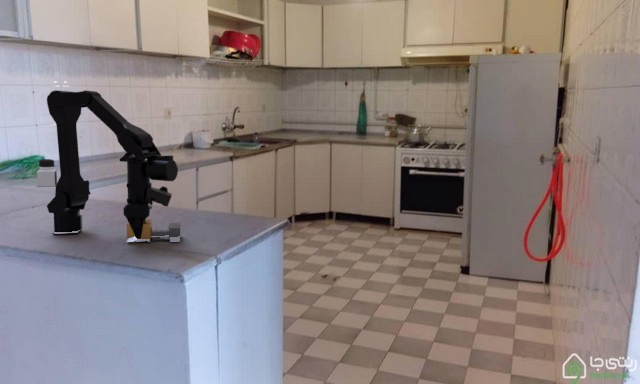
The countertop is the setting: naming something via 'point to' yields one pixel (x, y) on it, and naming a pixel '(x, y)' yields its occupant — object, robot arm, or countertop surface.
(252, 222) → the countertop surface
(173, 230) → the hammer
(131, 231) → the wooden u-channel block
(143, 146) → the robot arm
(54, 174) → the medicine bottle
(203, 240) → the countertop surface
